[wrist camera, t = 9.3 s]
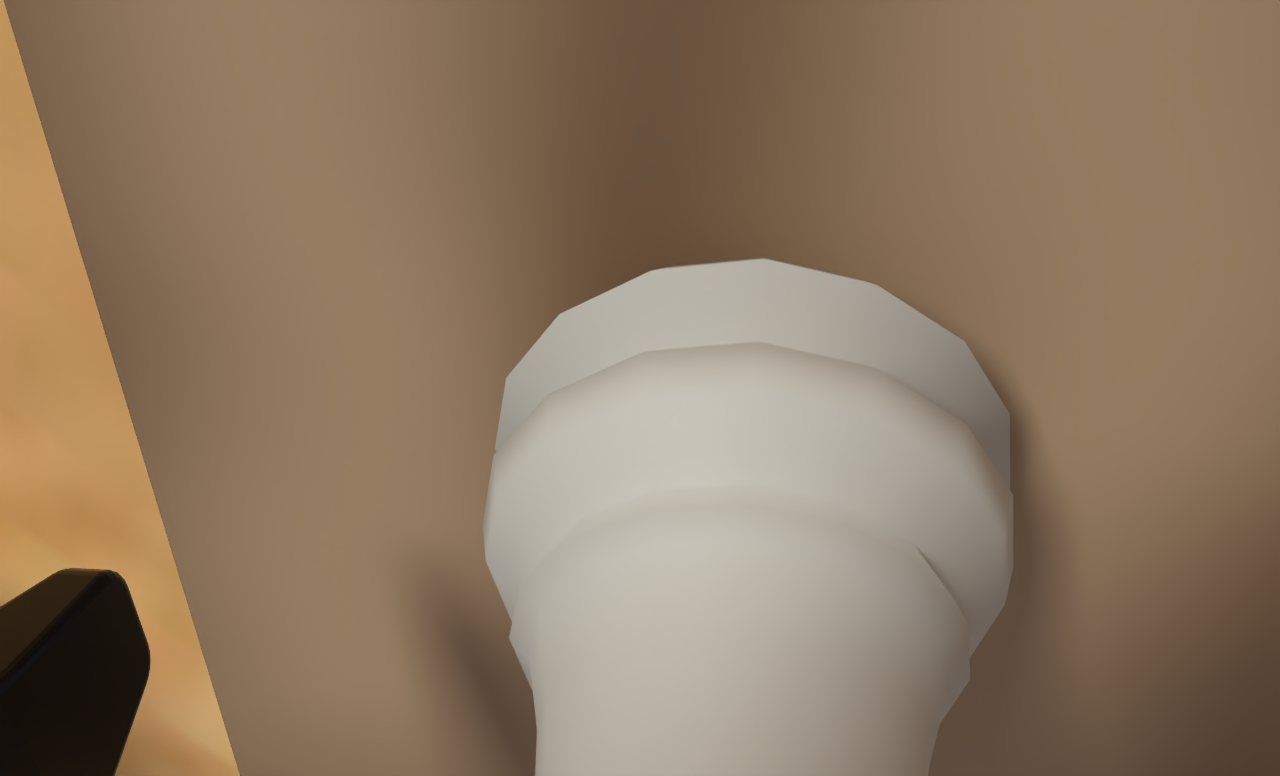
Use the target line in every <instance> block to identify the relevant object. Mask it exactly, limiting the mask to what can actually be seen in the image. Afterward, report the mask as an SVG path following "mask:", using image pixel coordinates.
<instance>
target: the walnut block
mask: <svg viewBox="0 0 1280 776" xmlns="http://www.w3.org/2000/svg"><path fill="white" fill-rule="evenodd" d="M4 3H5V6H6V9H7V13H8V16H9V19H10V23H11V26H12V29H13V32H14V36H15V39H16V42H17V46H18V49H19V52H20V55H21V59H22V62H23V65H24V68H25V72H26V75H27V78H28V82H29V85H30V88H31V91H32V95H33V98H34V101H35V105H36V108H37V111H38V114H39V118H40V121H41V124H42V128H43V131H44V134H45V137H46V141H47V144H48V147H49V150H50V154H51V157H52V160H53V164H54V167H55V170H56V173H57V177H58V180H59V183H60V187H61V190H62V193H63V196H64V200H65V203H66V206H67V209H68V213H69V216H70V219H71V223H72V226H73V229H74V232H75V236H76V239H77V242H78V246H79V249H80V252H81V255H82V259H83V262H84V265H85V269H86V272H87V275H88V278H89V282H90V285H91V288H92V291H93V295H94V298H95V301H96V305H97V308H98V311H99V314H100V318H101V321H102V324H103V328H104V331H105V334H106V337H107V341H108V344H109V347H110V350H111V354H112V357H113V360H114V364H115V367H116V370H117V373H118V377H119V380H120V383H121V387H122V390H123V393H124V396H125V400H126V403H127V406H128V410H129V413H130V416H131V419H132V423H133V426H134V429H135V432H136V436H137V439H138V442H139V446H140V449H141V452H142V455H143V459H144V462H145V465H146V469H147V472H148V475H149V478H150V482H151V485H152V488H153V491H154V495H155V498H156V501H157V505H158V508H159V511H160V514H161V518H162V521H163V524H164V528H165V531H166V534H167V537H168V541H169V544H170V547H171V551H172V554H173V557H174V560H175V564H176V567H177V570H178V573H179V577H180V580H181V583H182V587H183V590H184V593H185V596H186V600H187V603H188V606H189V610H190V613H191V616H192V619H193V623H194V626H195V629H196V632H197V636H198V639H199V642H200V646H201V649H202V652H203V655H204V659H205V662H206V665H207V669H208V672H209V675H210V678H211V682H212V685H213V688H214V692H215V695H216V698H217V701H218V705H219V708H220V711H221V714H222V718H223V721H224V724H225V728H226V731H227V734H228V737H229V741H230V744H231V747H232V751H233V754H234V757H235V760H236V764H237V767H238V770H239V773H240V776H535V766H536V743H537V725H536V716H535V707H534V698H533V690H532V689H531V687H530V685H529V682H528V680H527V678H526V675H525V673H524V671H523V669H522V666H521V664H520V662H519V660H518V657H517V655H516V653H515V650H514V648H513V646H512V644H511V641H510V639H509V635H510V631H511V626H512V621H511V618H510V616H509V614H508V612H507V609H506V607H505V605H504V602H503V600H502V598H501V595H500V593H499V591H498V588H497V586H496V584H495V581H494V579H493V577H492V574H491V572H490V570H489V568H488V565H487V563H486V558H485V547H484V535H483V524H482V523H483V517H484V511H485V505H486V499H487V493H488V486H489V480H490V474H491V468H492V462H493V456H494V454H495V453H496V450H495V444H496V438H497V432H498V425H499V419H500V413H501V407H502V401H503V395H504V388H505V382H506V378H507V376H508V375H509V374H510V373H511V372H512V370H513V369H514V368H515V367H516V366H517V364H518V363H519V362H520V361H521V360H522V358H523V357H524V356H525V355H526V354H527V352H528V351H529V350H530V349H531V348H532V346H533V345H534V344H535V343H536V342H537V340H538V339H539V338H540V337H541V336H542V334H543V333H544V332H545V331H546V330H547V328H548V327H549V326H550V325H551V324H552V322H553V321H554V320H555V319H556V318H557V316H558V315H559V314H561V313H563V312H565V311H567V310H569V309H571V308H573V307H575V306H578V305H580V304H582V303H584V302H586V301H588V300H590V299H592V298H594V297H597V296H599V295H601V294H603V293H605V292H607V291H609V290H611V289H613V288H615V287H618V286H620V285H622V284H624V283H626V282H628V281H630V280H632V279H634V278H637V277H639V276H641V275H643V274H645V273H647V272H649V271H652V270H657V269H661V268H665V267H670V266H676V265H687V264H697V263H707V262H717V261H728V260H738V259H748V258H758V257H766V258H771V259H775V260H780V261H784V262H789V263H793V264H797V265H802V266H806V267H811V268H815V269H820V270H824V271H829V272H833V273H837V274H842V275H846V276H851V277H855V278H858V279H861V280H864V281H867V282H870V283H872V284H875V285H878V286H879V287H881V288H883V289H884V290H886V291H887V292H889V293H890V294H892V295H893V296H895V297H897V298H898V299H900V300H901V301H903V302H904V303H906V304H907V305H909V306H911V307H912V308H914V309H915V310H917V311H918V312H920V313H921V314H923V315H925V316H926V317H928V318H929V319H931V320H932V321H934V322H936V323H937V324H939V325H940V326H942V327H943V328H945V329H946V330H948V331H950V332H951V333H953V334H954V335H956V336H957V337H959V338H960V339H962V340H964V341H965V343H966V344H967V346H968V348H969V349H970V351H971V352H972V354H973V356H974V357H975V359H976V360H977V362H978V364H979V365H980V367H981V368H982V370H983V372H984V373H985V375H986V376H987V378H988V380H989V381H990V383H991V384H992V386H993V388H994V389H995V391H996V392H997V394H998V396H999V397H1000V399H1001V400H1002V402H1003V404H1004V405H1005V407H1006V408H1007V410H1008V412H1009V413H1010V491H1011V492H1012V494H1013V571H1012V575H1011V580H1010V584H1009V589H1008V593H1007V598H1006V602H1005V605H1004V607H1003V608H1002V610H1001V611H1000V613H999V615H998V616H997V618H996V619H995V621H994V622H993V624H992V625H991V627H990V628H989V630H988V631H987V633H986V634H985V636H984V637H983V639H982V640H981V642H980V643H979V645H978V646H977V648H976V649H975V651H974V652H973V654H972V655H971V657H970V680H969V682H968V683H967V685H966V686H965V688H964V689H963V691H962V692H961V694H960V695H959V697H958V698H957V700H956V701H955V702H954V704H953V705H952V707H951V708H950V710H949V711H948V713H947V714H946V716H945V717H944V719H943V720H942V722H941V723H940V725H939V729H938V733H937V737H936V741H935V745H934V749H933V753H932V757H931V761H930V765H929V774H928V776H1280V0H4Z"/></svg>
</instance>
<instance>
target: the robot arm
mask: <svg viewBox="0 0 1280 776" xmlns="http://www.w3.org/2000/svg"><path fill="white" fill-rule="evenodd" d="M149 671H150V650H149V646H148V642H147V639H146V637H145V634H144V631H143V628H142V625H141V622H140V620H139V617H138V614H137V611H136V608H135V606H134V603H133V600H132V597H131V594H130V591H129V589H128V586H127V584H126V582H125V580H124V579H123V578H122V577H121V576H120V575H119V574H118V573H117V572H114V571H111V570H100V569H81V568H69V569H63V570H60V571H58V572H56V573H54V574H52V575H51V576H49V577H47V578H46V579H44V580H43V581H41V582H39V583H38V584H36V585H35V586H33V587H31V588H30V589H28V590H27V591H25V592H23V593H22V594H20V595H19V596H17V597H15V598H14V599H12V600H11V601H9V602H7V603H6V604H4V605H3V606H1V607H0V776H115V773H116V770H117V767H118V764H119V761H120V758H121V756H122V753H123V750H124V747H125V744H126V741H127V738H128V735H129V733H130V730H131V727H132V724H133V721H134V718H135V715H136V712H137V710H138V707H139V704H140V701H141V698H142V695H143V692H144V689H145V687H146V684H147V680H148V676H149Z"/></svg>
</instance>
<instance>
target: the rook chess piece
mask: <svg viewBox="0 0 1280 776" xmlns="http://www.w3.org/2000/svg"><path fill="white" fill-rule="evenodd" d="M495 450H496V453H495V454H494V456H493V462H492V468H491V474H490V480H489V486H488V493H487V499H486V505H485V511H484V517H483V523H482V524H483V535H484V547H485V558H486V563H487V565H488V568H489V570H490V572H491V574H492V577H493V579H494V581H495V584H496V586H497V588H498V591H499V593H500V595H501V598H502V600H503V602H504V605H505V607H506V609H507V612H508V614H509V616H510V618H511V621H512V626H511V631H510V635H509V639H510V641H511V644H512V646H513V648H514V650H515V653H516V655H517V657H518V660H519V662H520V664H521V666H522V669H523V671H524V673H525V675H526V678H527V680H528V682H529V685H530V687H531V689H532V690H533V698H534V707H535V716H536V725H537V743H536V766H535V776H928V774H929V765H930V761H931V757H932V753H933V749H934V745H935V741H936V737H937V733H938V729H939V725H940V723H941V722H942V720H943V719H944V717H945V716H946V714H947V713H948V711H949V710H950V708H951V707H952V705H953V704H954V702H955V701H956V700H957V698H958V697H959V695H960V694H961V692H962V691H963V689H964V688H965V686H966V685H967V683H968V682H969V680H970V657H971V655H972V654H973V652H974V651H975V649H976V648H977V646H978V645H979V643H980V642H981V640H982V639H983V637H984V636H985V634H986V633H987V631H988V630H989V628H990V627H991V625H992V624H993V622H994V621H995V619H996V618H997V616H998V615H999V613H1000V611H1001V610H1002V608H1003V607H1004V605H1005V602H1006V598H1007V593H1008V589H1009V584H1010V580H1011V575H1012V571H1013V494H1012V492H1011V491H1010V413H1009V412H1008V410H1007V408H1006V407H1005V405H1004V404H1003V402H1002V400H1001V399H1000V397H999V396H998V394H997V392H996V391H995V389H994V388H993V386H992V384H991V383H990V381H989V380H988V378H987V376H986V375H985V373H984V372H983V370H982V368H981V367H980V365H979V364H978V362H977V360H976V359H975V357H974V356H973V354H972V352H971V351H970V349H969V348H968V346H967V344H966V343H965V341H964V340H962V339H960V338H959V337H957V336H956V335H954V334H953V333H951V332H950V331H948V330H946V329H945V328H943V327H942V326H940V325H939V324H937V323H936V322H934V321H932V320H931V319H929V318H928V317H926V316H925V315H923V314H921V313H920V312H918V311H917V310H915V309H914V308H912V307H911V306H909V305H907V304H906V303H904V302H903V301H901V300H900V299H898V298H897V297H895V296H893V295H892V294H890V293H889V292H887V291H886V290H884V289H883V288H881V287H879V286H878V285H875V284H872V283H870V282H867V281H864V280H861V279H858V278H855V277H851V276H846V275H842V274H837V273H833V272H829V271H824V270H820V269H815V268H811V267H806V266H802V265H797V264H793V263H789V262H784V261H780V260H775V259H771V258H766V257H758V258H748V259H738V260H728V261H717V262H707V263H697V264H687V265H676V266H670V267H665V268H661V269H657V270H652V271H649V272H647V273H645V274H643V275H641V276H639V277H637V278H634V279H632V280H630V281H628V282H626V283H624V284H622V285H620V286H618V287H615V288H613V289H611V290H609V291H607V292H605V293H603V294H601V295H599V296H597V297H594V298H592V299H590V300H588V301H586V302H584V303H582V304H580V305H578V306H575V307H573V308H571V309H569V310H567V311H565V312H563V313H561V314H559V315H558V316H557V318H556V319H555V320H554V321H553V322H552V324H551V325H550V326H549V327H548V328H547V330H546V331H545V332H544V333H543V334H542V336H541V337H540V338H539V339H538V340H537V342H536V343H535V344H534V345H533V346H532V348H531V349H530V350H529V351H528V352H527V354H526V355H525V356H524V357H523V358H522V360H521V361H520V362H519V363H518V364H517V366H516V367H515V368H514V369H513V370H512V372H511V373H510V374H509V375H508V376H507V378H506V382H505V388H504V395H503V401H502V407H501V413H500V419H499V425H498V432H497V438H496V444H495Z"/></svg>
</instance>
